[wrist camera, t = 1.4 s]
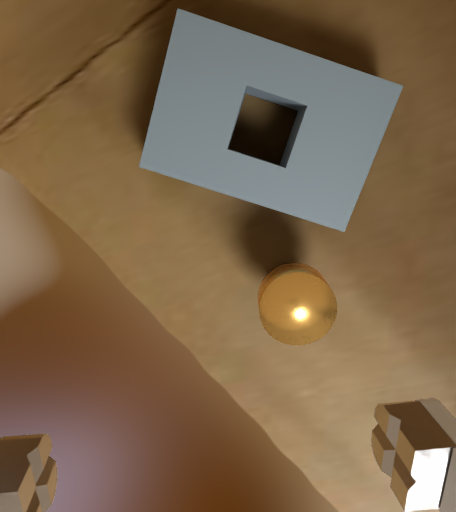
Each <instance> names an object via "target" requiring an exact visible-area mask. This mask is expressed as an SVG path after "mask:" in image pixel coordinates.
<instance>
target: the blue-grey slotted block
mask: <svg viewBox="0 0 456 512" xmlns="http://www.w3.org/2000/svg"><path fill="white" fill-rule="evenodd" d="M402 88H403V86H402V85H399V84H396V83H393V82H390V81H387V80H385V79H382V78H379V77H376V76H373V75H370V74H367V73H364V72H361V71H358V70H356V69H353V68H350V67H347V66H344V65H341V64H338V63H335V62H332V61H329V60H327V59H324V58H321V57H318V56H315V55H312V54H309V53H306V52H303V51H300V50H297V49H295V48H292V47H289V46H286V45H283V44H280V43H277V42H274V41H271V40H268V39H266V38H263V37H260V36H257V35H254V34H251V33H248V32H245V31H242V30H239V29H237V28H234V27H231V26H228V25H225V24H222V23H219V22H216V21H213V20H210V19H207V18H205V17H202V16H199V15H196V14H193V13H190V12H187V11H184V10H181V9H177V13H176V17H175V21H174V25H173V29H172V33H171V38H170V42H169V46H168V50H167V54H166V58H165V62H164V66H163V70H162V75H161V79H160V83H159V87H158V91H157V95H156V99H155V103H154V107H153V112H152V116H151V120H150V124H149V128H148V132H147V136H146V140H145V144H144V149H143V153H142V157H141V161H140V165H139V167H141V168H144V169H147V170H151V171H154V172H157V173H160V174H163V175H166V176H170V177H173V178H176V179H179V180H182V181H185V182H188V183H192V184H195V185H198V186H201V187H204V188H207V189H210V190H214V191H217V192H220V193H223V194H226V195H229V196H233V197H236V198H239V199H242V200H245V201H248V202H251V203H255V204H258V205H261V206H264V207H267V208H270V209H274V210H277V211H280V212H283V213H286V214H289V215H292V216H296V217H299V218H302V219H305V220H308V221H311V222H314V223H318V224H321V225H324V226H327V227H330V228H333V229H337V230H340V231H343V232H344V231H345V229H346V226H347V224H348V222H349V219H350V217H351V214H352V212H353V209H354V207H355V204H356V202H357V199H358V197H359V194H360V192H361V189H362V187H363V185H364V182H365V180H366V177H367V175H368V172H369V170H370V167H371V165H372V162H373V160H374V157H375V155H376V152H377V150H378V148H379V145H380V143H381V140H382V138H383V135H384V133H385V130H386V128H387V125H388V123H389V120H390V118H391V115H392V113H393V111H394V108H395V106H396V103H397V101H398V98H399V96H400V93H401V91H402ZM245 93H246V94H249V95H252V96H255V97H258V98H261V99H264V100H267V101H270V102H273V103H276V104H279V105H282V106H285V107H288V108H291V109H294V110H297V111H298V112H297V115H296V118H295V121H294V124H293V127H292V130H291V133H290V136H289V139H288V142H287V145H286V148H285V150H284V153H283V156H282V159H281V162H280V165H278V164H275V163H272V162H268V161H265V160H262V159H259V158H256V157H253V156H250V155H247V154H244V153H241V152H238V151H235V150H231V149H229V146H230V142H231V139H232V136H233V132H234V129H235V126H236V123H237V119H238V116H239V113H240V109H241V106H242V103H243V99H244V96H245Z"/></svg>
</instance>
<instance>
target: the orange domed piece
mask: <svg viewBox="0 0 456 512" xmlns="http://www.w3.org/2000/svg"><path fill="white" fill-rule="evenodd" d="M258 305H259V313H260V319H261V322H262V325H263V327H264V328H265V330H266V331H267V332H268V334H269V335H271V336H272V337H273V338H274V339H276V340H278V341H280V342H282V343H285V344H289V345H305V344H309V343H312V342H314V341H316V340H318V339H320V338H321V337H323V336H324V335H325V334H326V333H327V332H328V331H329V330H330V328H331V327H332V325H333V323H334V321H335V318H336V314H337V302H336V298H335V295H334V293H333V292H332V290H331V288H330V287H329V285H328V284H327V282H326V281H325V279H324V278H323V276H322V275H321V274H320V273H319V272H318V271H317V270H315V269H314V268H312V267H310V266H308V265H305V264H300V263H289V264H282V265H280V266H278V267H276V268H275V269H273V270H272V271H271V272H269V273H268V274H267V275H266V277H265V278H264V279H263V281H262V282H261V285H260V287H259V290H258Z"/></svg>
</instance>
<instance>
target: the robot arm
mask: <svg viewBox="0 0 456 512" xmlns="http://www.w3.org/2000/svg"><path fill="white" fill-rule="evenodd" d="M374 417H375V419H376V421H377V422H378V425H377V426H376V427H375V428H374V429H373V430H372V439H371V443H372V449H373V454H374V457H375V459H376V462H377V464H378V466H379V467H380V469H381V471H383V472H384V473H386V474H387V475H388V476H390V477H391V483H390V487H391V489H392V491H393V492H394V494H395V496H396V498H397V499H398V501H399V503H400V505H401V506H402V508H403V510H404V512H406V511H418V510H430V509H440V510H439V511H440V512H456V418H455V417H454V416H453V415H452V414H451V413H450V412H449V411H448V410H447V409H446V408H445V406H444V405H443V404H442V403H441V402H440V401H439V400H437V399H435V398H430V399H420V400H415V401H404V402H393V403H383V404H378V405H377V407H376V408H375V414H374ZM51 449H52V443H51V439H50V435H47V434H35V435H20V436H6V437H5V436H4V437H0V512H45V511H46V510H47V509H48V508H49V507H50V506H51V505H52V502H53V499H54V496H55V492H56V485H57V466H56V461H55V460H53V459H52V458H51V457H50V456H49V454H50V451H51Z"/></svg>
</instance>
